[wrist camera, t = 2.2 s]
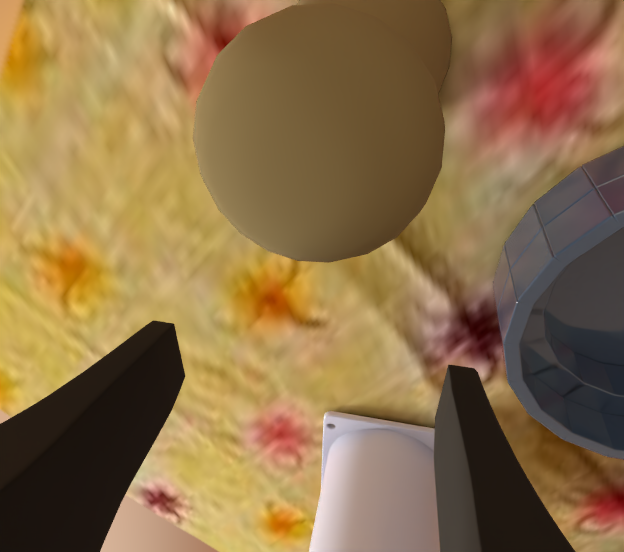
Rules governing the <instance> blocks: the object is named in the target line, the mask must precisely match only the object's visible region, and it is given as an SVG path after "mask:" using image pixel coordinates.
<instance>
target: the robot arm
mask: <svg viewBox="0 0 624 552" xmlns="http://www.w3.org/2000/svg"><path fill="white" fill-rule="evenodd" d="M184 378H185V373H184V368H183V364H182V359H181V354H180V350H179V345H178V340H177V336H176V331H175V326H174V324H173V323H166V322H159V321H152V322H150V323H149V324H148V325H146V326H145V327H143V328H142V329H141V330H139V331H138V332H137V333H135V334H134V335H133V336H131V337H130V338H129V339H127V340H126V341H125V342H124V343H122V344H121V345H120V346H118V347H117V348H116V349H114V350H113V351H112V352H110V353H109V354H107V355H106V356H105V357H103V358H102V359H101V360H99V361H98V362H97V363H95V364H94V365H92V366H91V367H90V368H88V369H87V370H86V371H84V372H83V373H81V374H80V375H78V376H77V377H75V378H74V379H72V380H71V381H69V382H68V383H66V384H65V385H63V386H62V387H60V388H59V389H57V390H56V391H55V392H53V393H52V394H50V395H49V396H47V397H45V398H44V399H42V400H41V401H39V402H37V403H36V404H34V405H32V406H31V407H29V408H28V409H26V410H24V411H22V412H21V413H19V414H17V415H15V416H14V417H12V418H10V419H8V420H7V421H5V422H3V423H1V424H0V552H100V550H101V548H102V545H103V543H104V540H105V538H106V536H107V533H108V531H109V529H110V527H111V524H112V522H113V520H114V517H115V515H116V513H117V510H118V508H119V506H120V504H121V501H122V500H123V498H124V496H125V494H126V492H127V490H128V488H129V486H130V484H131V482H132V480H133V479H134V477H135V475H136V473H137V472H138V470H139V468H140V466H141V464H142V463H143V461H144V459H145V457H146V456H147V454H148V452H149V450H150V448H151V447H152V445H153V443H154V441H155V440H156V438H157V436H158V434H159V432H160V431H161V429H162V427H163V425H164V423H165V422H166V420H167V418H168V416H169V414H170V412H171V411H172V408H173V406H174V403H175V401H176V399H177V396H178V394H179V391H180V389H181V386H182V383H183V381H184ZM309 552H575V550H574V549H573V548H572V546H571V545H570V543H569V542H568V541H567V539H566V538H565V536H564V535H563V533H562V532H561V531H560V529H559V527H558V526H557V524H556V523H555V521H554V520H553V518H552V517H551V515H550V514H549V512H548V511H547V509H546V508H545V506H544V505H543V503H542V501H541V500H540V498H539V496H538V495H537V493H536V492H535V490H534V488H533V487H532V485H531V483H530V481H529V480H528V478H527V476H526V474H525V473H524V471H523V469H522V467H521V466H520V464H519V462H518V460H517V458H516V456H515V455H514V453H513V451H512V449H511V447H510V445H509V443H508V441H507V439H506V437H505V435H504V433H503V431H502V429H501V427H500V425H499V423H498V421H497V418H496V416H495V414H494V412H493V410H492V407H491V405H490V403H489V400H488V398H487V396H486V393H485V391H484V388H483V386H482V383H481V380H480V377H479V375H478V372H477V371H476V370H475V369H474V368H468V367H461V366H454V365H448V369H447V373H446V377H445V381H444V385H443V389H442V393H441V397H440V401H439V405H438V409H437V413H436V417H435V428H429V427H423V426H417V425H411V424H405V423H400V422H394V421H388V420H382V419H376V418H370V417H365V416H359V415H353V414H347V413H341V412H335V411H328V412H326V413H325V415H324V423H323V450H322V478H321V493H320V498H319V503H318V508H317V513H316V518H315V523H314V528H313V533H312V538H311V543H310V548H309Z"/></svg>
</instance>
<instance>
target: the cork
mask: <svg viewBox="0 0 624 552" xmlns="http://www.w3.org/2000/svg"><path fill="white" fill-rule="evenodd" d="M451 41H452V36H451V32H450V27H449V22H448V18H447V13H446V9H445V7H444V5H443V4H442V2H441V0H299V2H298V4H297V5H293V6H290V7H288V8H285V9H283V10H281V11H279V12H277V13H274V14H272V15H270V16H268V17H266V18H263V19H261V20H259V21H257V22H255V23H252V24H250V25H248V26H246V27H245V28H244V29H243V30H242V31H241V32H240V33H239V34H238V35H237V36H236V37H235V38H234V39H233V40H232V41H231V42H230V43H229V44H228V45H227V46H226V47H225V48H224V49H223V50H222V51H221V52H220V53H219V54H218V55H217V57H216V59H215V61H214V63H213V66H212V68H211V70H210V72H209V75H208V77H207V79H206V81H205V83H204V86H203V88H202V90H201V92H200V95H199V97H198V99H197V101H196V111H195V122H194V133H193V141H194V146H195V151H196V155H197V160H198V165H199V169H200V174H201V176H202V179H203V181H204V183H205V185H206V187H207V189H208V190H209V192H210V194H211V196H212V198H213V200H214V202H215V204H216V205H217V207H218V209H219V211H220V212H221V213H222V214H223V215H224V216H225V217H226V218H227V219H228V220H229V221H230V223H231V224H232V225H233V226H234V227H235V228H236V229H237V230H238V231H239V232H240V233H241V234H242V235H244V236H245V237H247V238H248V239H250V240H251V241H253V242H255V243H256V244H258V245H259V246H261V247H262V248H264V249H266V250H267V251H270V252H273V253H276V254H279V255H282V256H285V257H288V258H291V259H294V260H297V261H313V262H333V261H338V260H342V259H347V258H351V257H356V256H360V255H365V254H368V253H370V252H371V251H373V250H375V249H377V248H379V247H380V246H382V245H384V244H386V243H387V242H389V241H391V240H393V239H395V238H396V237H397V236H398V235H399V234H400V233H401V232H402V231H403V230H404V229H405V228H406V227H407V225H408V224H409V223H410V222H411V221H412V220H413V219H414V218H415V217H416V216H417V215H418V213H419V212H420V211H421V210H422V208H423V207H424V205H425V203H426V202H427V199H428V197H429V195H430V193H431V190H432V188H433V186H434V184H435V181H436V179H437V177H438V175H439V172H440V170H441V167H442V156H443V145H444V134H445V124H444V117H443V113H442V109H441V105H440V101H439V97H438V93H439V91H440V88H441V86H442V83H443V81H444V78H445V76H446V73H447V71H448V68H449V63H450V52H451Z"/></svg>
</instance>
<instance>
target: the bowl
mask: <svg viewBox="0 0 624 552" xmlns="http://www.w3.org/2000/svg"><path fill="white" fill-rule="evenodd" d="M493 291H494V299H495V307H496V315H497V321H498V328H499V334H500V340H501V346H502V352H503V358H504V364H505V370H506V376H507V380H508V383H509V385H510V386H511V388H512V390H513V391H514V393H515V394H516V396H517V397H518V399H519V401H520V402H521V404H522V405H523V407H524V408H525V410H526V411H527V413H528V414H529V415H530V416H532V417H533V418H534V419H536V420H537V421H538V422H540V423H541V424H542V425H544V426H545V427H546V428H548V429H549V430H550V431H552V432H553V433H554V434H556V435H557V436H558V437H560V438H561V439H563V440H565V441H568V442H570V443H573V444H575V445H578V446H580V447H583V448H585V449H588V450H590V451H593V452H596V453H598V454H601V455H603V456H607V457H611V458H617V459H623V460H624V146H622V147H620V148H618V149H616V150H614V151H612V152H609V153H607V154H605V155H603V156H601V157H598V158H596V159H594V160H592V161H590V162H587V163H585V164H583V165H582V167H581V166H580V167H578V168H577V169H576V170H575V171H573V172H572V173H571V174H570V175H568V176H567V177H566V178H564V179H563V180H562V181H561V182H559V183H558V184H557V185H556V186H554V187H553V188H552V189H551V190H549V191H548V192H547V193H546V194H544V195H543V196H542V197H541V198H539V199H538V200H537V201H536V202H535V203H534V204H533V205H532V206H531V207H530V209H529V210H528V212H527V213H526V214H525V216H524V217H523V219H522V220H521V221H520V223H519V224H518V226H517V227H516V228H515V230H514V231H513V233H512V234H511V235H510V237H509V238H508V240H507V241H506V242H505V245H504V246H503V250H502V253H501V257H500V260H499V264H498V267H497V271H496V274H495V278H494V281H493Z"/></svg>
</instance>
